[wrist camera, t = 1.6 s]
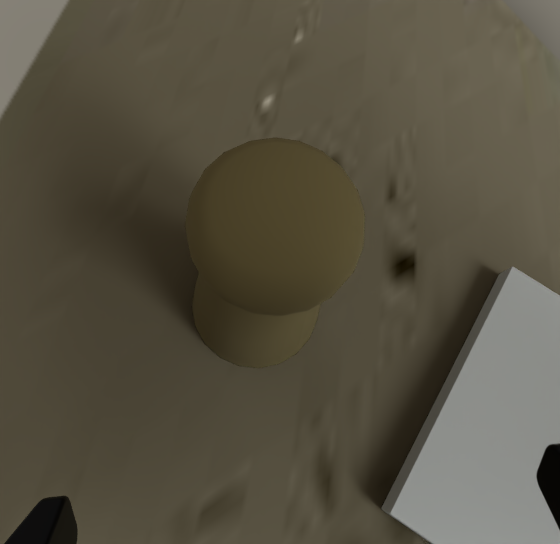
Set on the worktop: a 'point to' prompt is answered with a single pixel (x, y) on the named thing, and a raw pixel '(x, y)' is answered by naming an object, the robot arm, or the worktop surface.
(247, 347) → the cork
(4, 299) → the worktop surface
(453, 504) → the arbor press
